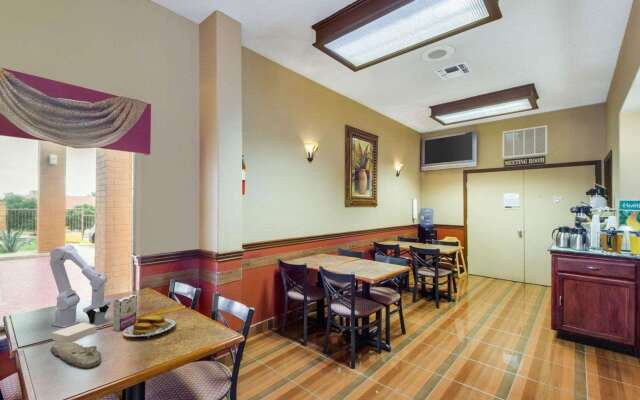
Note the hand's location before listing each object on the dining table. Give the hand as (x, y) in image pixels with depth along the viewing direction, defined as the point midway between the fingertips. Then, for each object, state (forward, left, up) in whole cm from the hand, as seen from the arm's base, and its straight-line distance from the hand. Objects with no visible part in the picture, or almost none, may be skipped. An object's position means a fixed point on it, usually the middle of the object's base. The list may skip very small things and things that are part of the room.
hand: (96, 320), depth 169 cm
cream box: (+5, -15, -2) cm, 16 cm away
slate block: (0, 0, -2) cm, 2 cm away
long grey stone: (+26, -29, -2) cm, 39 cm away
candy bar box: (+18, +2, -2) cm, 18 cm away
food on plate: (+35, +3, -2) cm, 35 cm away
